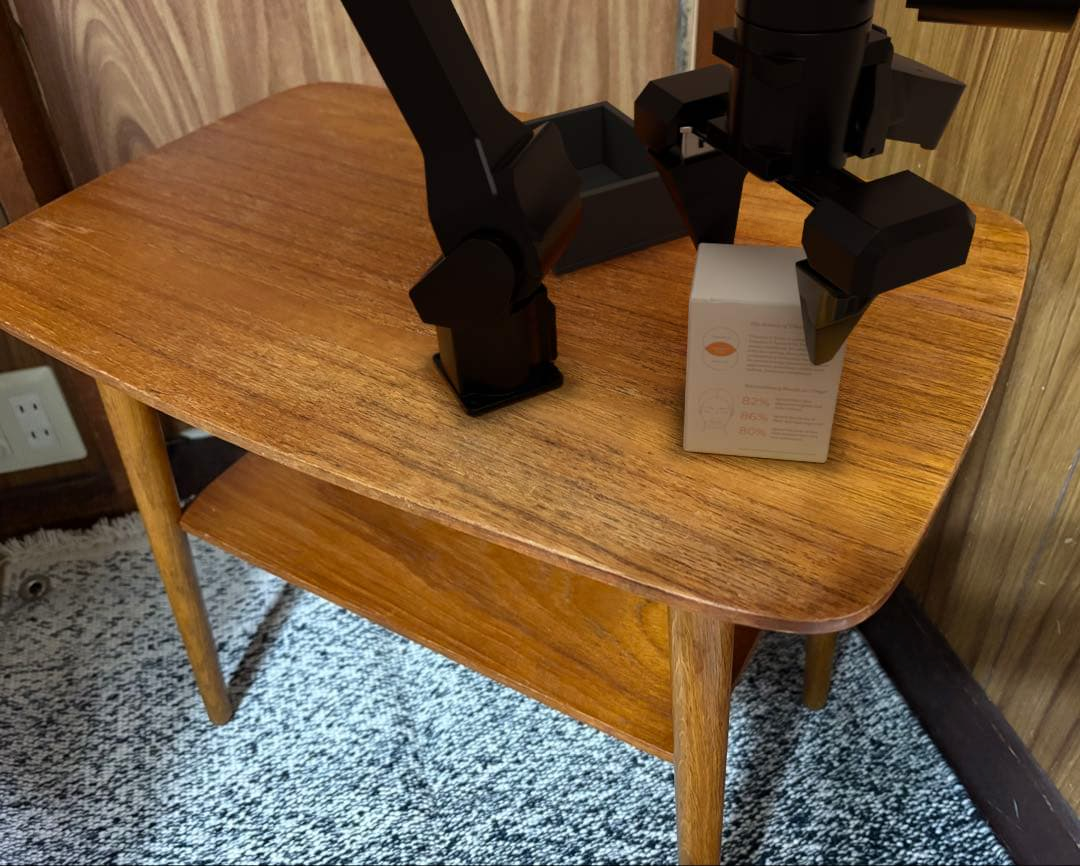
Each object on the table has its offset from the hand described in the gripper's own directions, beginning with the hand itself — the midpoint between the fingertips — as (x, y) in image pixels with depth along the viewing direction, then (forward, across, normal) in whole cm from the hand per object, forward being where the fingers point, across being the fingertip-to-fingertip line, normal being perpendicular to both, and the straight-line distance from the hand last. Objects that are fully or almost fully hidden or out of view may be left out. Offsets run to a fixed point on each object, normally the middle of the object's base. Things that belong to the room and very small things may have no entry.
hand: (765, 315), depth 52 cm
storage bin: (+8, +27, -3) cm, 28 cm away
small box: (+8, 0, 0) cm, 8 cm away
